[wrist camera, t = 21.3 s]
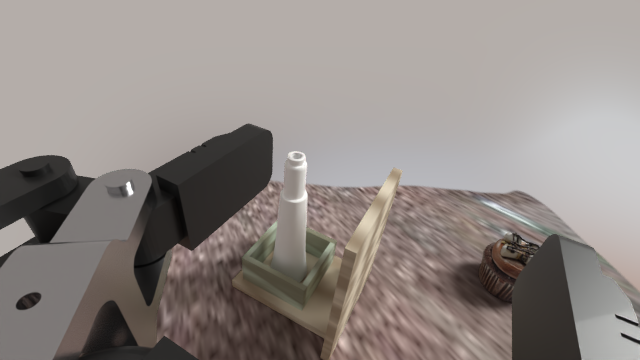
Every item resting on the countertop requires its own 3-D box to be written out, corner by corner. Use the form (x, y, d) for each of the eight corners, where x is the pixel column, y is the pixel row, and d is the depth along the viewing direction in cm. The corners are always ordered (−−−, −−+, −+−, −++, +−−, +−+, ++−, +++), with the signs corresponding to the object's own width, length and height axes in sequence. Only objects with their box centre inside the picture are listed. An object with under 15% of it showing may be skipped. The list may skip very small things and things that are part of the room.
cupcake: (533, 317, 50) (569, 279, 44) (470, 290, 53) (496, 251, 47) (529, 274, 57) (559, 236, 51) (474, 252, 60) (497, 214, 54)
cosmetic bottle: (303, 289, 48) (317, 173, 35) (265, 282, 48) (265, 165, 35) (309, 258, 53) (324, 147, 40) (275, 252, 53) (278, 139, 40)
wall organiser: (280, 233, 59) (283, 129, 46) (369, 275, 53) (402, 170, 40) (221, 298, 47) (204, 183, 34) (328, 362, 41) (356, 253, 28)
